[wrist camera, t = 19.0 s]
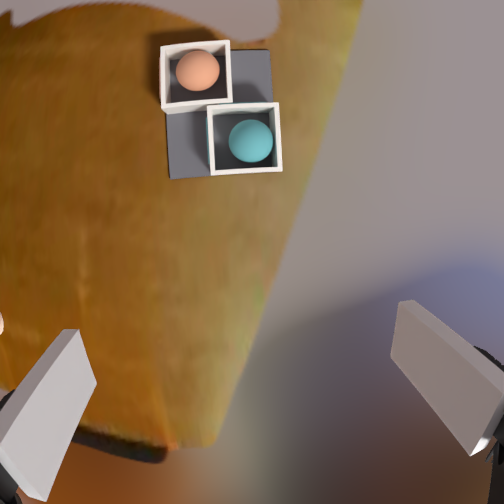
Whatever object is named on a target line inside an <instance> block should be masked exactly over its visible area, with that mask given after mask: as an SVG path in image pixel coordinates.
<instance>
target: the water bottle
mask: <svg viewBox="0 0 504 504" xmlns="http://www.w3.org/2000/svg"><path fill="white" fill-rule="evenodd" d="M2 331H3V318H2V315H1V313H0V334H1V333H2Z"/></svg>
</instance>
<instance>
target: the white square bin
mask: <svg viewBox="0 0 504 504" xmlns="http://www.w3.org/2000/svg"><path fill="white" fill-rule="evenodd" d="M248 113H269V122H270V131H271V133H272V136H273V146H272V150H271V158H272V167H262V168H243V169H228V170H216V166H215V150H214V132H213V115H228V114H248ZM206 133H207V150H208V164H210V170H211V175H224V174H239V173H256V172H277V171H282V152H281V134H280V117H279V103H266V102H237V103H219V105H208V106H207V117H206Z"/></svg>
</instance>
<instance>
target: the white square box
mask: <svg viewBox="0 0 504 504" xmlns="http://www.w3.org/2000/svg"><path fill="white" fill-rule="evenodd" d="M193 51H205V52H208V53H210V54H211V55H213V56H222V55H225V73H226V93H227V98H222V99H208V100H196V101H186V102H177V103H171V92H170V60H176V59H181V58H182V57H183V56H185V55H186V54H188V53H190V52H193ZM159 90H160V99H161V109H162V110H163V111H164V112H165V113H166V114H175V113H185V112H195V111H206V110H207V106H208V105H219V103H233V97H232V78H231V58H230V40H220V41H218V40H212V41H199V42H188V43H179V44H172V45H167V46H161V53H160V57H159Z"/></svg>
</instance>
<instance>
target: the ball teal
mask: <svg viewBox="0 0 504 504" xmlns="http://www.w3.org/2000/svg"><path fill="white" fill-rule="evenodd" d="M272 146H273V136H272V133H271V131H270V129H269V128H268V127H267V126H266V125H265V124H264V123H262V122H260V121H257V120H244V121H242V122H240V123H238V124H237V125H236V126H235V127H234V128H233V129H232V131H231V133H230V136H229V147H230V150H231V152H232V153H233V155H234V156H235V157H236V158H238V159H239V160H241V161H244V162H248V163H254V162H258V161H261V160H263V159H264V158H266V157H267V156H268V154H269V153H270V152H271V150H272Z"/></svg>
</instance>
